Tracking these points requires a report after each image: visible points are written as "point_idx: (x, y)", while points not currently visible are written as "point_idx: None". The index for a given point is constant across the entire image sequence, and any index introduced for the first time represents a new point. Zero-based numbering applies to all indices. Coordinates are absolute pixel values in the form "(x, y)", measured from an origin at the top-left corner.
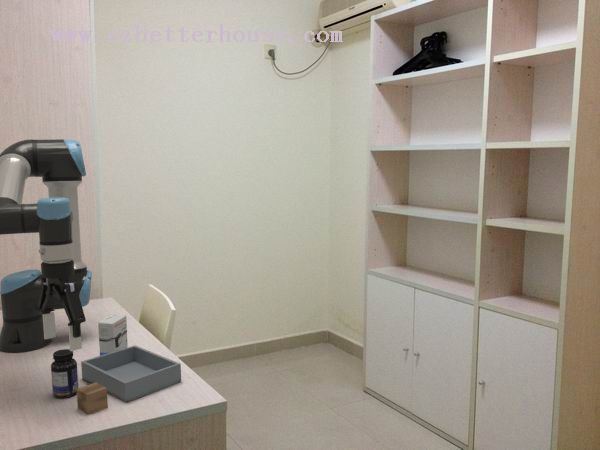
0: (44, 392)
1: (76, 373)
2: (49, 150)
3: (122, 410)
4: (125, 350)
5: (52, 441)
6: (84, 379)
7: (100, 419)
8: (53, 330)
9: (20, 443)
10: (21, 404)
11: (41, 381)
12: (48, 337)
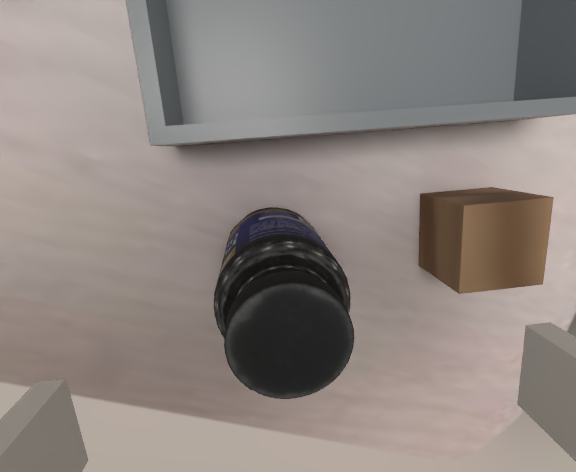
0: (205, 304)
1: (321, 241)
2: None
3: (552, 160)
4: None
5: None
6: (194, 144)
7: None
8: (27, 455)
9: (487, 439)
10: None
11: (82, 280)
12: (75, 447)
